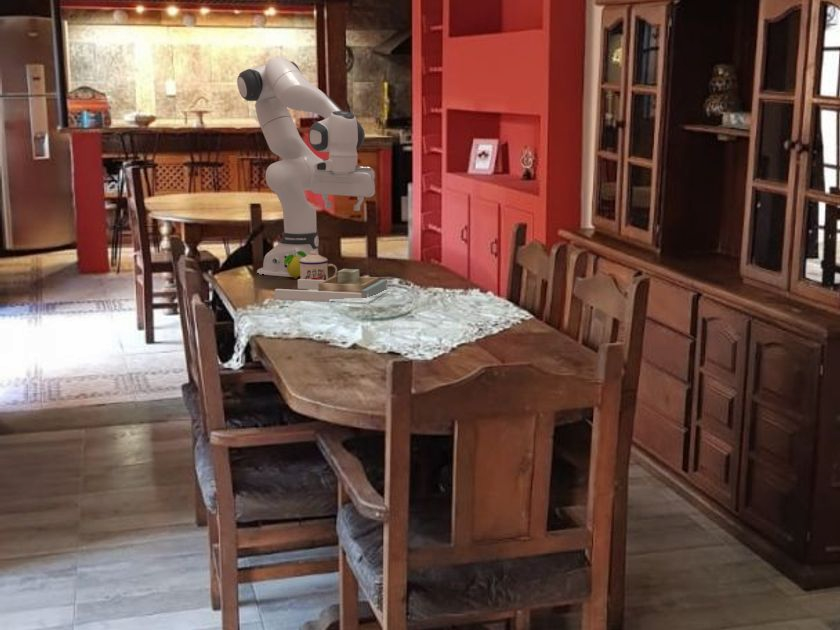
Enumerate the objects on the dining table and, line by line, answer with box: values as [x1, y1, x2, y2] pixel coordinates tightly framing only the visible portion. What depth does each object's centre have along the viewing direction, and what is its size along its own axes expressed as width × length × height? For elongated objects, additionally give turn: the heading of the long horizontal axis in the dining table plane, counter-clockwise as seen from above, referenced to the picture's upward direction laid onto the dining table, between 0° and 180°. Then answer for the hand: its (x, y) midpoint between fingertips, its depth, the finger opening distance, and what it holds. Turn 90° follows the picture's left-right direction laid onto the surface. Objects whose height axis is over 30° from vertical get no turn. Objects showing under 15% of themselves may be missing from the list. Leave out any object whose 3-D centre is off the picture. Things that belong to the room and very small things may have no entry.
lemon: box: [284, 249, 307, 280], centre depth 359 cm, size 7×6×10 cm
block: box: [337, 268, 360, 285], centre depth 322 cm, size 5×5×7 cm
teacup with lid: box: [299, 251, 338, 280], centre depth 343 cm, size 12×9×12 cm
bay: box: [274, 278, 389, 303], centre depth 324 cm, size 29×19×5 cm, turn 73°
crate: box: [317, 275, 380, 293], centre depth 322 cm, size 14×14×5 cm
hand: (342, 209), depth 336 cm, fingers open, 8 cm apart
